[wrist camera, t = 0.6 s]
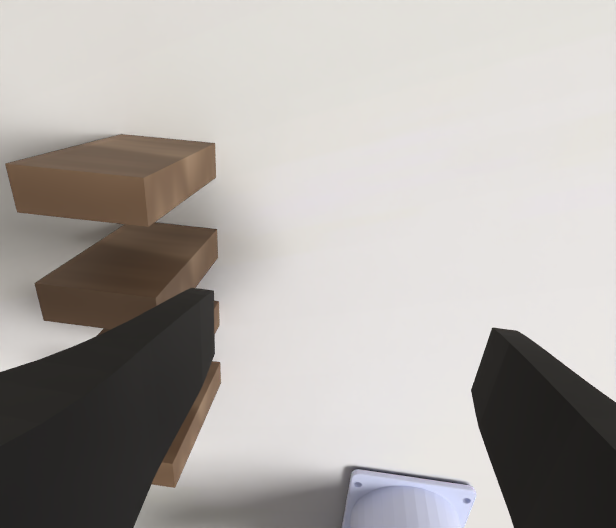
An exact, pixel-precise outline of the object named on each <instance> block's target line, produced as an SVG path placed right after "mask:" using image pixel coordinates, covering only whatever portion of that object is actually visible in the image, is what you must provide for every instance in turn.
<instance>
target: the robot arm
mask: <svg viewBox="0 0 616 528" xmlns="http://www.w3.org/2000/svg"><path fill="white" fill-rule="evenodd" d="M214 354H215V343H214V291H212V290H204V289H197V288H190V289H188V290H185V291H183V292H181V293H179V294H177V295H176V296H174V297H172V298H170V299H168V300H166V301H165V302H163V303H161V304H159V305H157V306H155V307H154V308H152V309H150V310H148V311H146V312H144V313H142V314H141V315H139V316H137V317H135V318H133V319H131V320H129V321H127V322H125V323H123V324H121V325H119V326H117V327H115V328H113V329H111V330H109V331H106V332H104V333H102V334H100V335H98V336H96V337H94V338H92V339H90V340H87V341H85V342H83V343H80V344H78V345H76V346H73V347H71V348H68V349H66V350H63V351H61V352H58V353H55V354H53V355H50V356H48V357H45V358H42V359H40V360H37V361H34V362H31V363H28V364H24V365H21V366H18V367H15V368H12V369H9V370H6V371H3V372H0V528H133V527H134V525H135V522H136V520H137V517H138V515H139V513H140V510H141V508H142V505H143V503H144V501H145V498H146V496H147V493H148V491H149V489H150V486H151V484H152V482H153V479H154V477H155V475H156V473H157V471H158V469H159V467H160V465H161V463H162V461H163V459H164V457H165V455H166V453H167V452H168V450H169V448H170V446H171V444H172V442H173V440H174V439H175V437H176V435H177V433H178V431H179V429H180V428H181V426H182V424H183V422H184V420H185V418H186V416H187V415H188V413H189V411H190V409H191V407H192V405H193V403H194V401H195V400H196V398H197V396H198V394H199V392H200V390H201V388H202V386H203V384H204V381H205V378H206V376H207V373H208V371H209V368H210V365H211V362H212V360H213V357H214ZM471 392H472V397H473V402H474V408H475V413H476V417H477V421H478V426H479V429H480V432H481V435H482V438H483V441H484V444H485V447H486V450H487V452H488V455H489V458H490V461H491V464H492V466H493V469H494V472H495V475H496V477H497V480H498V483H499V486H500V489H501V491H502V494H503V497H504V500H505V502H506V505H507V508H508V511H509V514H510V516H511V519H512V523H513V526H514V528H616V402H614V401H613V400H611V399H610V398H609V397H607V396H606V395H605V394H603V393H602V392H600V391H599V390H598V389H596V388H595V387H593V386H592V385H591V384H589V383H588V382H587V381H585V380H584V379H583V378H581V377H580V376H579V375H577V374H576V373H575V372H573V371H572V370H571V369H569V368H568V367H567V366H565V365H564V364H563V363H561V362H560V361H559V360H557V359H556V358H555V357H554V356H552V355H551V354H550V353H548V352H547V351H546V350H544V349H543V348H542V347H540V346H539V345H537V344H536V343H535V342H533V341H532V340H531V339H529V338H528V337H526V336H525V335H523V334H521V333H520V332H518V331H515V330H507V329H499V328H492V330H491V333H490V336H489V339H488V342H487V345H486V348H485V351H484V354H483V357H482V360H481V363H480V366H479V369H478V371H477V374H476V377H475V380H474V383H473V386H472V389H471ZM475 498H476V491H475V489H474V487H472V486H469V485H463V484H456V483H449V482H442V481H436V480H429V479H422V478H415V477H408V476H401V475H394V474H388V473H381V472H374V471H367V470H360V469H357V470H354V471H352V473H351V478H350V483H349V489H348V494H347V500H346V506H345V511H344V517H343V523H342V528H464V527H465V524H466V522H467V519H468V516H469V514H470V511H471V509H472V506H473V503H474V501H475Z"/></svg>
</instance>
